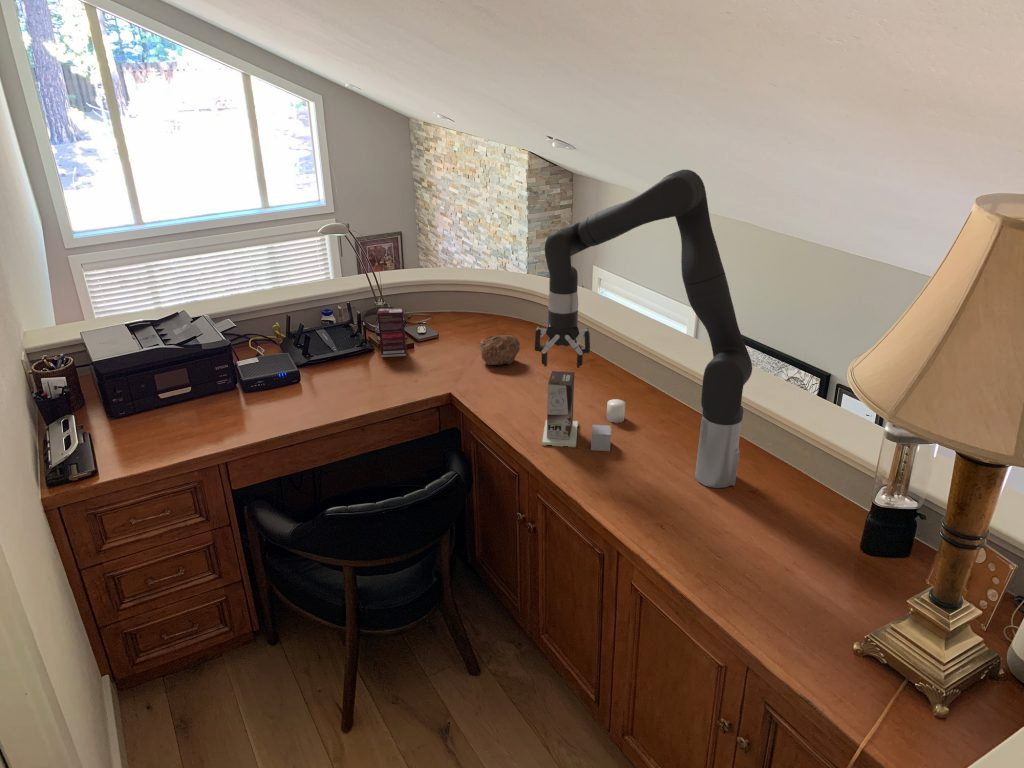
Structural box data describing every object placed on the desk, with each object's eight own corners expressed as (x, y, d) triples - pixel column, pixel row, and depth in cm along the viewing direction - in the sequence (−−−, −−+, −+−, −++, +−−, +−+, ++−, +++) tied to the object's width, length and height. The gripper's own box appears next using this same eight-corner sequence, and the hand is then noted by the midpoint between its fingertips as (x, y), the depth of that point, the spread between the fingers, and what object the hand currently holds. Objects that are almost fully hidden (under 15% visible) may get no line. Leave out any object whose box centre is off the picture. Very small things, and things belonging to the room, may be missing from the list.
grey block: (610, 442, 202) (611, 425, 200) (609, 451, 198) (610, 434, 196) (591, 441, 203) (592, 424, 201) (590, 450, 199) (591, 433, 196)
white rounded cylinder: (624, 415, 216) (625, 399, 214) (624, 423, 212) (625, 407, 210) (606, 414, 217) (607, 398, 215) (606, 422, 212) (607, 406, 210)
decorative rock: (522, 357, 255) (522, 329, 250) (516, 370, 245) (516, 342, 240) (484, 354, 257) (483, 327, 253) (476, 367, 247) (476, 339, 243)
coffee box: (570, 440, 201) (571, 385, 194) (546, 438, 202) (547, 383, 195) (573, 424, 209) (575, 371, 202) (550, 422, 210) (551, 369, 203)
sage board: (577, 424, 211) (577, 421, 211) (575, 447, 200) (575, 443, 199) (545, 422, 212) (545, 419, 212) (541, 445, 201) (542, 442, 200)
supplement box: (406, 350, 260) (403, 307, 253) (406, 356, 256) (403, 312, 249) (381, 352, 259) (377, 308, 253) (380, 357, 255) (377, 313, 248)
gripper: (533, 311, 188) (533, 370, 195) (590, 313, 186) (588, 373, 193) (536, 301, 195) (536, 359, 202) (591, 303, 193) (589, 361, 200)
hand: (562, 366), depth 197 cm, fingers open, 8 cm apart
